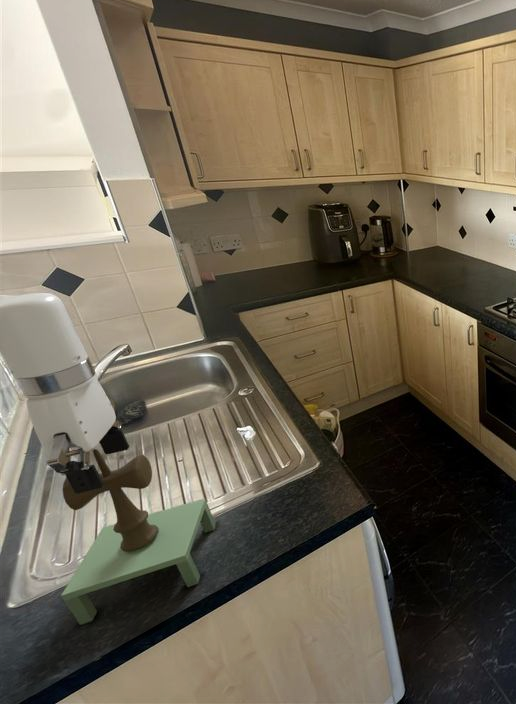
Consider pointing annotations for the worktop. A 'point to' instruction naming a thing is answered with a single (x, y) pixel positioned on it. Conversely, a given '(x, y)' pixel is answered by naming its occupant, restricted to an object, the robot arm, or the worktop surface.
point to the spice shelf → (138, 555)
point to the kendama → (120, 499)
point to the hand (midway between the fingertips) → (105, 469)
